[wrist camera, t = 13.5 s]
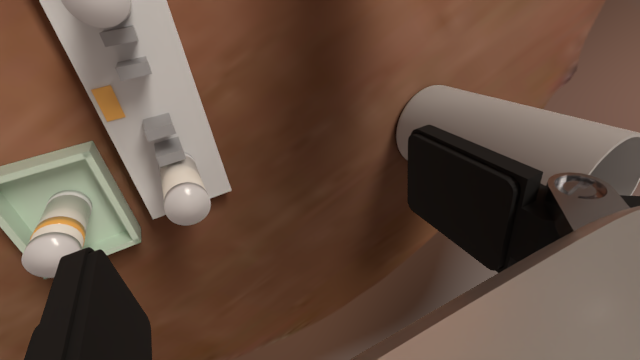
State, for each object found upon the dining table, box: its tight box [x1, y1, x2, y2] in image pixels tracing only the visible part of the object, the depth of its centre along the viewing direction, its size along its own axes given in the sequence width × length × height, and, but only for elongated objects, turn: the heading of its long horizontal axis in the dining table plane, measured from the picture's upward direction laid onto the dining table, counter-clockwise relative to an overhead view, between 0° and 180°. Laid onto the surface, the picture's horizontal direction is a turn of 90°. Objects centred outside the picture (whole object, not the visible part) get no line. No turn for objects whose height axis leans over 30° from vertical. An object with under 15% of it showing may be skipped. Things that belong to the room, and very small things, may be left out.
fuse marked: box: [22, 190, 92, 278], centre depth 30 cm, size 4×4×9 cm
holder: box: [39, 0, 232, 219], centre depth 30 cm, size 26×9×6 cm, turn 11°
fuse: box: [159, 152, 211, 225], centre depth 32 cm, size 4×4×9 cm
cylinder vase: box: [396, 85, 640, 196], centre depth 42 cm, size 12×12×25 cm
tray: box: [0, 141, 141, 279], centre depth 33 cm, size 11×9×3 cm
